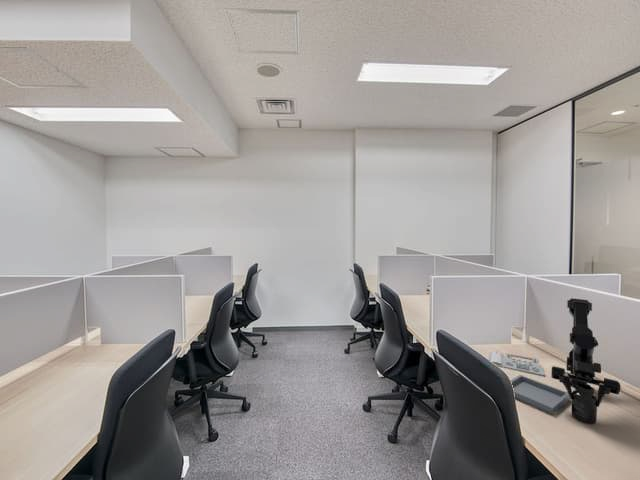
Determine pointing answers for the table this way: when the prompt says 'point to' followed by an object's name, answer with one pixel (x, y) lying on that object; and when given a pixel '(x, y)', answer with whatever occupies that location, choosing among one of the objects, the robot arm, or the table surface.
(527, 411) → the table surface
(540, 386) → the tray
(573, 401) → the supplement bottle
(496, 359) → the office telephone
